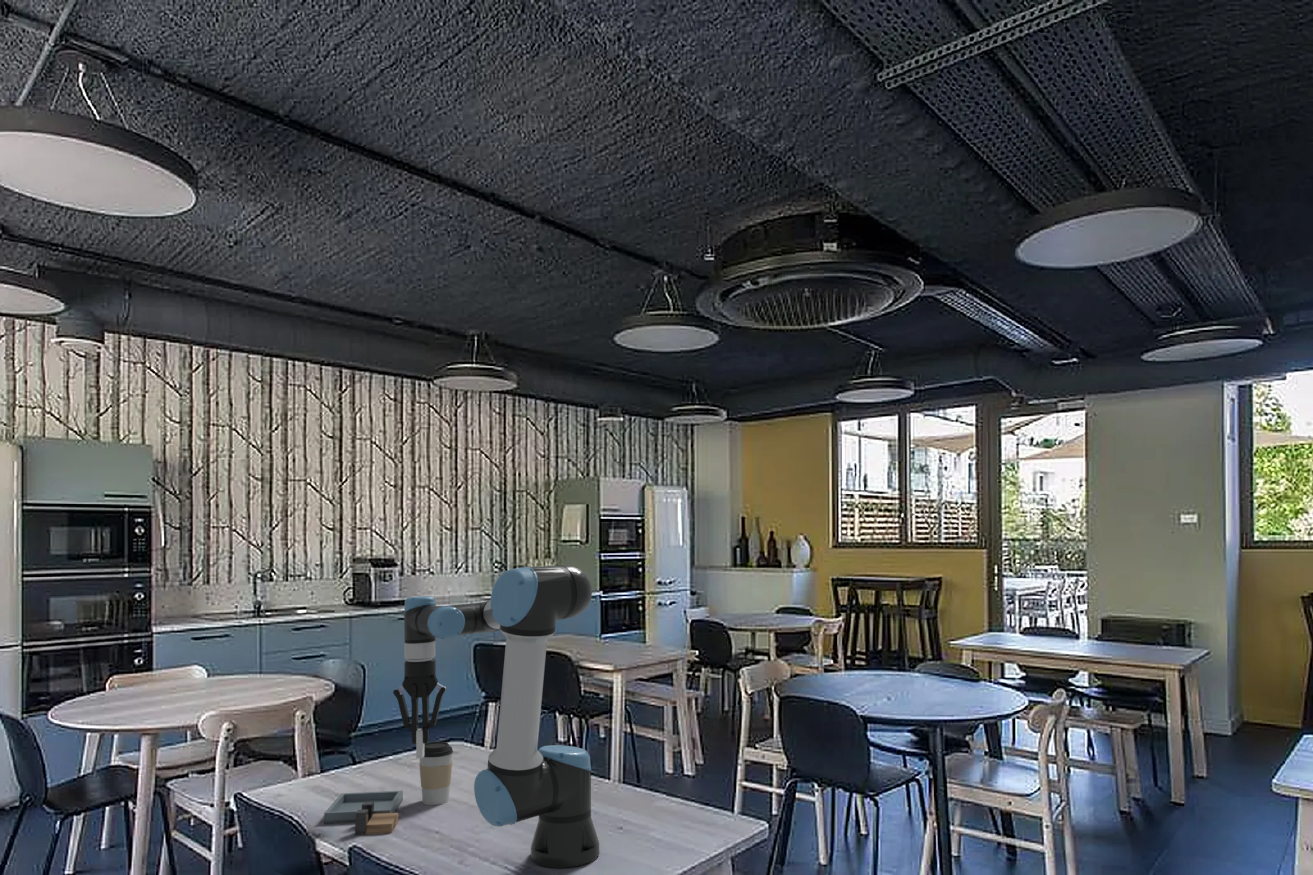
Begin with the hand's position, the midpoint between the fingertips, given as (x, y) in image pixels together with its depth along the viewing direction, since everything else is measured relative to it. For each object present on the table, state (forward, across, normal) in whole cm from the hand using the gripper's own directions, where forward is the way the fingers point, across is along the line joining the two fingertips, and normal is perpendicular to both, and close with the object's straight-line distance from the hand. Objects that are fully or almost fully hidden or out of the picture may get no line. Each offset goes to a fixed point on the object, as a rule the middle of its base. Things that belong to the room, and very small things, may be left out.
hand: (420, 756), depth 216 cm
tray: (+16, +16, -14) cm, 27 cm away
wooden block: (+17, +9, -1) cm, 19 cm away
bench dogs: (+16, +14, -1) cm, 21 cm away
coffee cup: (+16, 0, -20) cm, 26 cm away
